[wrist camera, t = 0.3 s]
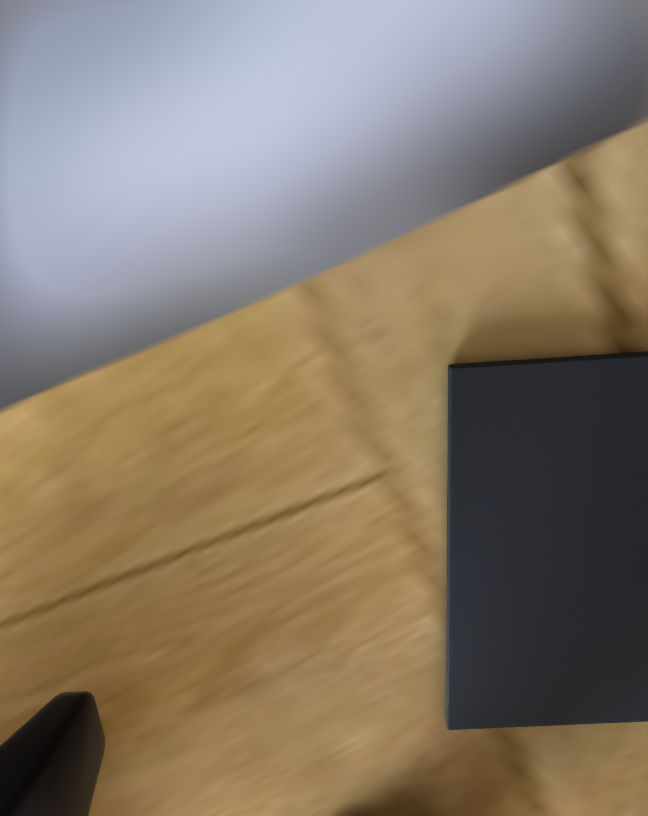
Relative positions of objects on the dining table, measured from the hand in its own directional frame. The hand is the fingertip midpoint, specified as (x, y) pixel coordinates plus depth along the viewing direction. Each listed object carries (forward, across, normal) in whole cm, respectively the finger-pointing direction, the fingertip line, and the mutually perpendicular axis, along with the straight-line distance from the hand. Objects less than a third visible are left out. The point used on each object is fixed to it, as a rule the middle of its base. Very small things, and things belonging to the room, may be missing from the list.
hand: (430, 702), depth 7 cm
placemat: (+15, -14, +9) cm, 22 cm away
